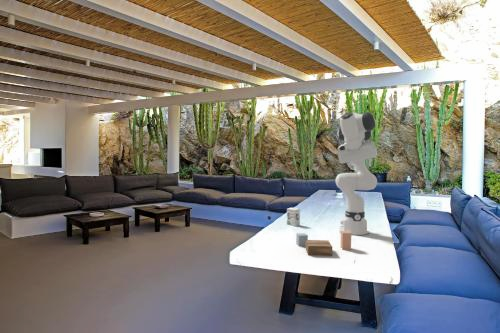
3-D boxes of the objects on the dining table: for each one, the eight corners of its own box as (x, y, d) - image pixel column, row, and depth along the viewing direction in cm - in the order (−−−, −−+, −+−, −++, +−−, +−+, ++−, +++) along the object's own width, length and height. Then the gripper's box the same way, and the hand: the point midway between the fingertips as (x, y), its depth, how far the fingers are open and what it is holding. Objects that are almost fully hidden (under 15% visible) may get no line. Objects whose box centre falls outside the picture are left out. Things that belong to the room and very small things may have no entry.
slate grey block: (296, 243, 193) (296, 233, 192) (304, 243, 193) (305, 233, 193) (298, 246, 188) (299, 235, 188) (307, 246, 188) (307, 235, 188)
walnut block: (305, 249, 184) (305, 239, 183) (327, 249, 183) (328, 240, 183) (308, 255, 172) (308, 246, 171) (332, 256, 171) (332, 246, 171)
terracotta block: (340, 247, 187) (340, 231, 187) (348, 247, 187) (349, 231, 187) (342, 249, 183) (342, 232, 182) (350, 249, 182) (351, 233, 182)
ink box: (300, 225, 242) (300, 209, 241) (294, 226, 239) (295, 209, 238) (291, 223, 248) (291, 207, 248) (286, 224, 245) (286, 207, 245)
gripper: (375, 137, 179) (381, 162, 181) (338, 146, 190) (344, 169, 193) (372, 140, 174) (379, 166, 176) (334, 149, 185) (341, 172, 188)
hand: (361, 167), depth 184 cm, fingers open, 8 cm apart
